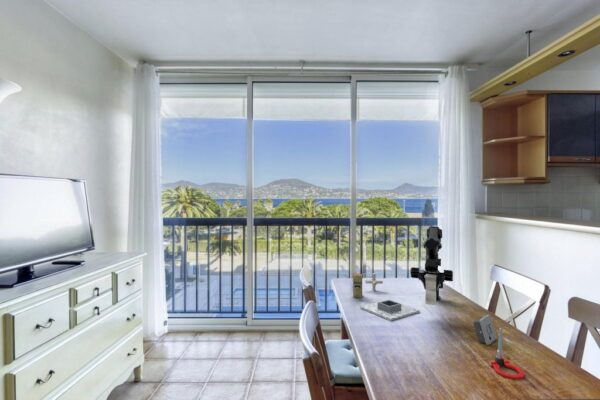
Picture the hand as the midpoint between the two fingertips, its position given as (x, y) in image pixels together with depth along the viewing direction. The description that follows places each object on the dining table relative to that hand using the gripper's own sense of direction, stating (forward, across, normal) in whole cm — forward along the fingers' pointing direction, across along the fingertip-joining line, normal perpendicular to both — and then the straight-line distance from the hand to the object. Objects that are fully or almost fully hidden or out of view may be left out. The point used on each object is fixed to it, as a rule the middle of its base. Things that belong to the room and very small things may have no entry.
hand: (430, 289), depth 156 cm
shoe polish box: (-4, -39, +23) cm, 45 cm away
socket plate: (+7, -19, +11) cm, 23 cm away
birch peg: (+4, 0, +6) cm, 7 cm away
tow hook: (+38, +25, -20) cm, 49 cm away
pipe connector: (-14, -33, +33) cm, 49 cm away
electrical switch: (+21, +21, -3) cm, 30 cm away
